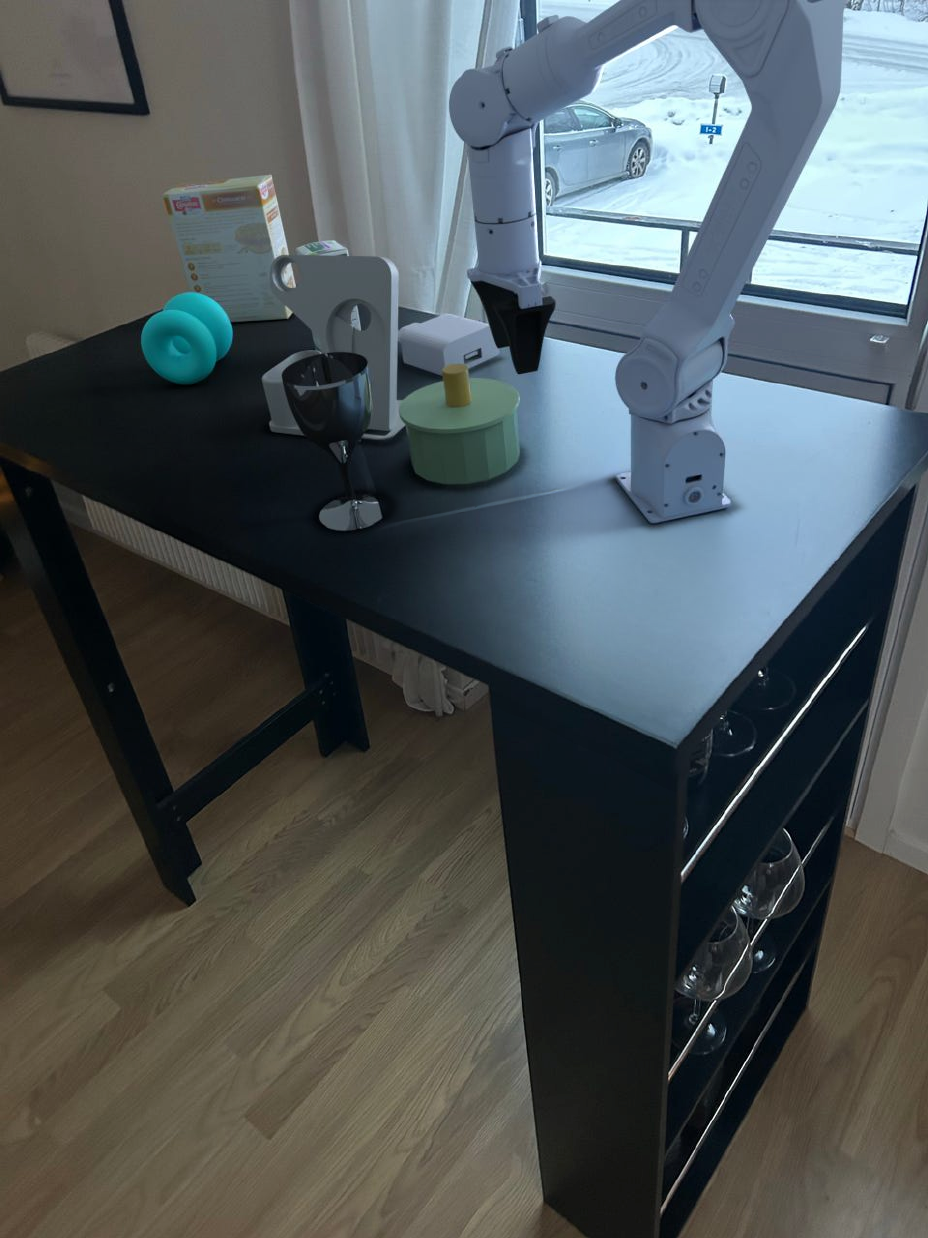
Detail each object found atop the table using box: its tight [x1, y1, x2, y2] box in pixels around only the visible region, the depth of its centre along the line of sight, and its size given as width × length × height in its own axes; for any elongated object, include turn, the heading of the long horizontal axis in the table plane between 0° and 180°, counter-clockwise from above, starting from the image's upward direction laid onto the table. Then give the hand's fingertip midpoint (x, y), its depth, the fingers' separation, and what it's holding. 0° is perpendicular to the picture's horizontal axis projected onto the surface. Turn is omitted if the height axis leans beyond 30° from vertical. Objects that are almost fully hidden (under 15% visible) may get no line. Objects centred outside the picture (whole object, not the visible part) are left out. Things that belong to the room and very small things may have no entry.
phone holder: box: [261, 254, 406, 443], centre depth 105 cm, size 17×10×18 cm, turn 65°
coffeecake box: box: [162, 174, 297, 323], centre depth 141 cm, size 15×7×20 cm, turn 82°
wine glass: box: [282, 352, 385, 532], centre depth 88 cm, size 8×8×15 cm
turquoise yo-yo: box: [140, 291, 234, 386], centre depth 125 cm, size 10×10×10 cm
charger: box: [398, 313, 500, 377], centre depth 122 cm, size 5×9×15 cm
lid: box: [399, 364, 521, 433], centre depth 93 cm, size 12×12×5 cm
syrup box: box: [295, 239, 362, 352], centre depth 124 cm, size 6×6×14 cm
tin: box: [405, 409, 521, 485], centre depth 96 cm, size 11×11×6 cm
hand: (516, 358), depth 93 cm, fingers open, 7 cm apart
